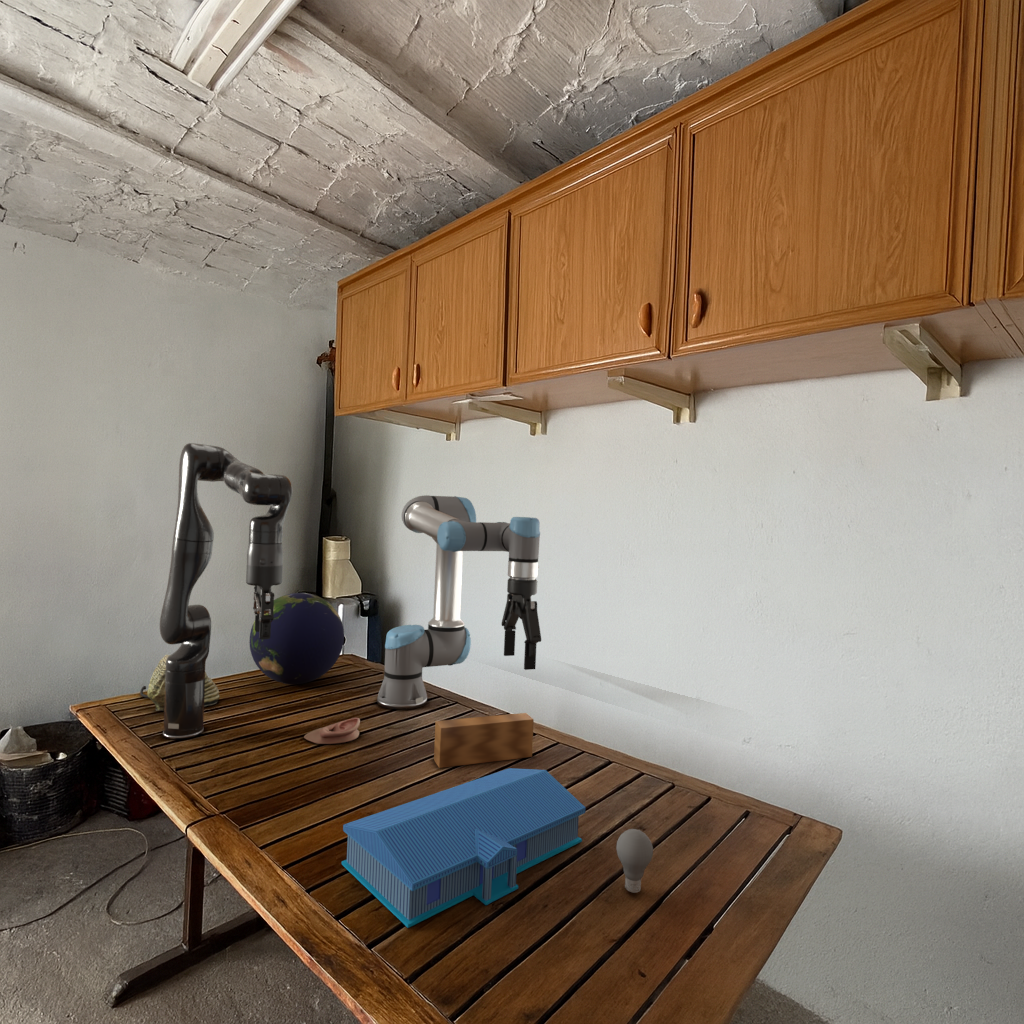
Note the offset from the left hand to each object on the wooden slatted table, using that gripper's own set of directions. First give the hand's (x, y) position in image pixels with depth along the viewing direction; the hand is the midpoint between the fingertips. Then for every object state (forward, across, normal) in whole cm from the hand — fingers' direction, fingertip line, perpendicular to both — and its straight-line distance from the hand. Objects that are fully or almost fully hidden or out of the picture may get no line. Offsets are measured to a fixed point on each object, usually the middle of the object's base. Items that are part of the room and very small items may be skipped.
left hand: (262, 635), depth 142 cm
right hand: (+8, -12, -60) cm, 61 cm away
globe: (+32, +68, -20) cm, 78 cm away
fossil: (+32, +56, +14) cm, 65 cm away
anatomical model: (+32, +16, -20) cm, 41 cm away
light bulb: (+32, -70, -51) cm, 92 cm away
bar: (+32, -11, -51) cm, 61 cm away
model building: (+32, -49, -31) cm, 66 cm away
